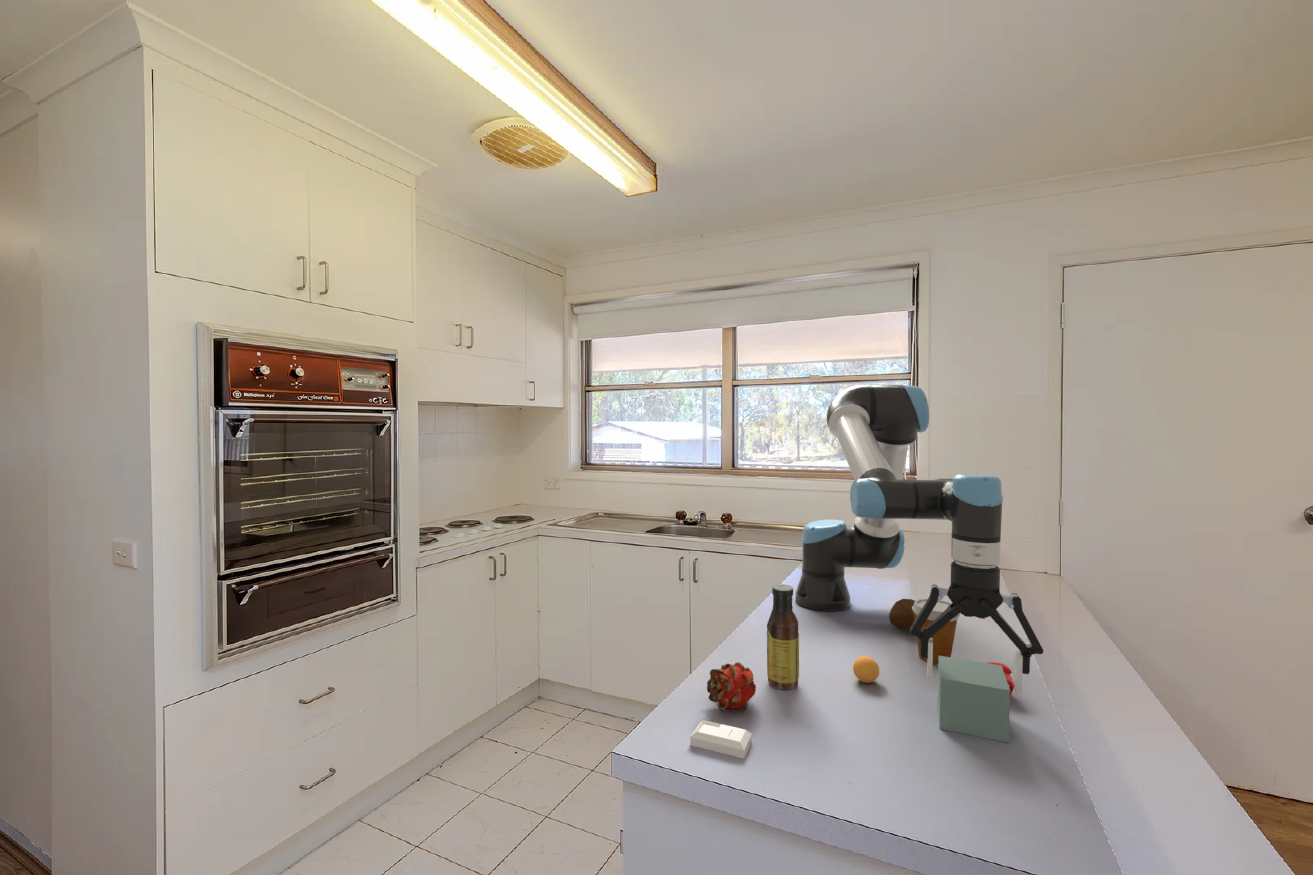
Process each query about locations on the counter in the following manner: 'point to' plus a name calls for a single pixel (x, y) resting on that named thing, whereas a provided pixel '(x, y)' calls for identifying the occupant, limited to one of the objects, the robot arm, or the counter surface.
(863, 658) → the ball
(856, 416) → the robot arm
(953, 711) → the sage green cube
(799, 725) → the counter surface
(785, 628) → the sauce bottle
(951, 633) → the disposable coffee cup
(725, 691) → the dragon fruit
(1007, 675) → the red curved piece
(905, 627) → the potato
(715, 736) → the soap bar
